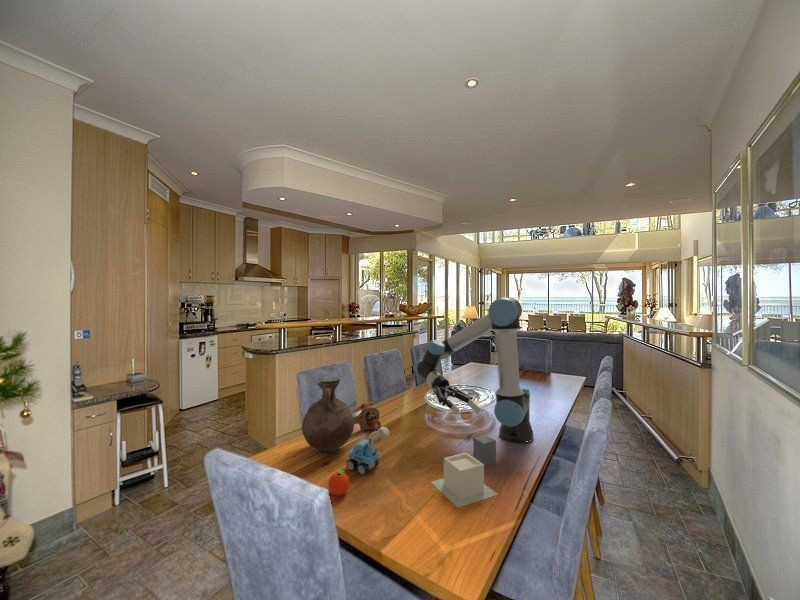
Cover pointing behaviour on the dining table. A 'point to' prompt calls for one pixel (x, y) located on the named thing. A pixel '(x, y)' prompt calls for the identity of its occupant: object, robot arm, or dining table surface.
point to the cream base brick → (463, 475)
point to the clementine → (338, 483)
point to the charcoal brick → (485, 450)
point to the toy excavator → (366, 452)
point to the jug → (328, 421)
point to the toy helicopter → (367, 417)
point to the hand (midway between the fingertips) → (468, 411)
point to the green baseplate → (467, 500)
